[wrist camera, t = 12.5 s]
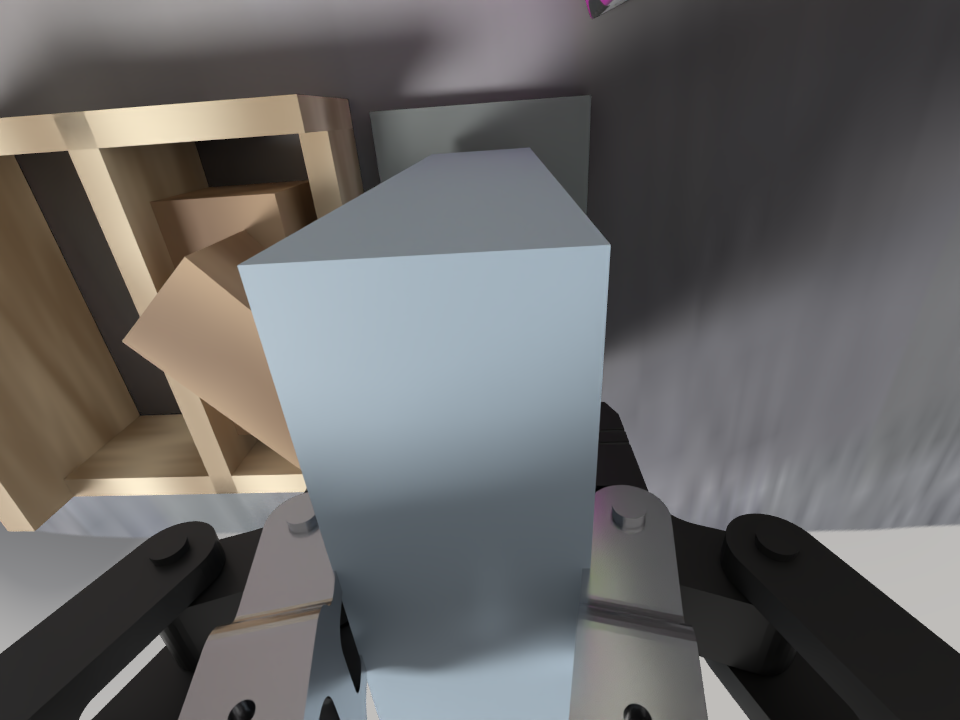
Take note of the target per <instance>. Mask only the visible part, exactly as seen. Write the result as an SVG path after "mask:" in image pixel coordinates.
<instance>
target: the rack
mask: <svg viewBox="0 0 960 720" xmlns="http://www.w3.org/2000/svg"><path fill="white" fill-rule="evenodd" d="M297 133H298V134H299V138H300V143H301V147H302V152H303V156H304V161H305V165H306V170H307V174H308V179H309V183H310V188H311V192H312V197H313V201H314V206H315V210H316V215H317V219H319V218H321V217H323V216H325V215H326V214H328V213H330V212H332V211H333V210H335V209H337V208H339V207H340V206H342V205H344V204H346V203H347V202H349V201H351V200H353V199H354V198H356V197H358V196H360V195H361V194H363V193H364V190H363V184H362V178H361V172H360V167H359V161H358V155H357V149H356V143H355V138H354V132H353V126H352V120H351V114H350V109H349V103H348V99H342V98H331V97H321V96H310V95H300V94H292V95H280V96H268V97H255V98H243V99H230V100H218V101H206V102H193V103H181V104H168V105H156V106H143V107H131V108H119V109H106V110H94V111H81V112H69V113H57V114H44V115H32V116H19V117H7V118H0V521H1V522H2V524H3V525H4V526H5V528H6V529H7V531H35V530H37V529H38V528H39V527H40V526H41V525H42V524H43V523H44V522H46V521H47V520H48V519H49V518H50V517H51V516H52V515H53V514H55V513H56V512H57V511H58V510H59V509H60V508H61V507H62V506H64V505H65V504H66V503H67V502H68V501H69V500H70V499H71V498H73V497H74V496H123V495H174V494H224V493H275V492H305V490H306V488H307V487H306V484H305V481H304V477H303V474H302V471H301V470H300V469H299V468H297V467H296V466H295V465H293V464H292V463H290V462H289V461H288V460H286V459H285V458H283V457H282V456H281V455H279V454H278V453H277V452H275V451H274V450H272V449H271V448H270V447H268V446H267V445H265V444H264V443H263V442H261V441H260V440H258V439H257V438H256V437H254V436H253V435H238V433H237V431H236V428H235V425H234V423H233V421H232V420H230V419H229V418H228V417H226V416H225V415H224V414H222V413H221V412H219V411H218V410H217V409H215V408H214V407H212V406H211V405H210V404H208V403H207V402H205V401H204V400H203V399H201V398H200V397H198V396H197V395H196V394H194V393H193V392H191V391H190V390H189V389H187V388H186V387H184V386H183V385H182V384H180V383H179V382H177V381H176V380H175V379H173V378H172V377H170V376H169V375H168V374H166V373H165V372H164V373H165V376H166V378H167V380H168V383H169V385H170V387H171V390H172V392H173V394H174V396H175V399H176V401H177V403H178V406H179V408H180V410H181V413H182V414H176V415H145V416H140V414H139V412H138V410H137V408H136V406H135V404H134V402H133V400H132V398H131V396H130V394H129V392H128V390H127V387H126V385H125V383H124V381H123V379H122V377H121V375H120V373H119V371H118V369H117V367H116V365H115V363H114V361H113V359H112V357H111V354H110V352H109V350H108V348H107V346H106V344H105V342H104V340H103V338H102V336H101V334H100V332H99V330H98V328H97V326H96V323H95V321H94V319H93V317H92V315H91V313H90V311H89V309H88V307H87V305H86V303H85V301H84V299H83V297H82V295H81V293H80V290H79V288H78V286H77V284H76V282H75V280H74V278H73V276H72V274H71V272H70V270H69V268H68V266H67V264H66V262H65V260H64V257H63V255H62V253H61V251H60V249H59V247H58V245H57V243H56V241H55V239H54V237H53V235H52V233H51V231H50V229H49V227H48V224H47V222H46V220H45V218H44V216H43V214H42V212H41V210H40V208H39V206H38V204H37V202H36V200H35V198H34V196H33V194H32V191H31V189H30V187H29V185H28V183H27V181H26V179H25V177H24V175H23V173H22V171H21V169H20V167H19V165H18V163H17V161H16V158H15V156H14V155H15V154H29V153H42V152H56V151H68V152H69V154H70V157H71V159H72V161H73V164H74V166H75V168H76V171H77V173H78V175H79V178H80V180H81V182H82V184H83V187H84V189H85V191H86V194H87V196H88V198H89V201H90V203H91V205H92V207H93V210H94V212H95V214H96V217H97V219H98V221H99V224H100V226H101V228H102V231H103V233H104V235H105V237H106V240H107V242H108V244H109V247H110V249H111V251H112V254H113V256H114V258H115V260H116V263H117V265H118V267H119V270H120V272H121V274H122V277H123V279H124V281H125V284H126V286H127V288H128V290H129V293H130V295H131V297H132V300H133V302H134V304H135V307H136V309H137V311H138V313H139V316H141V315H142V314H143V312H144V311H145V310H146V308H147V307H148V305H149V304H150V303H151V301H152V300H153V299H154V297H155V296H156V295H157V293H158V292H159V291H160V289H161V288H162V287H163V285H164V284H165V283H166V281H167V280H168V279H169V277H170V276H171V275H172V273H173V272H174V270H175V268H174V265H173V262H172V260H171V257H170V255H169V252H168V249H167V247H166V244H165V241H164V239H163V236H162V233H161V231H160V228H159V225H158V223H157V220H156V218H155V215H154V212H153V210H152V207H151V204H150V202H151V201H155V200H160V199H164V198H168V197H172V196H176V195H180V194H184V193H188V192H192V191H196V190H200V189H204V188H208V187H209V186H208V183H207V180H206V176H205V173H204V170H203V167H202V164H201V161H200V157H199V154H198V151H197V148H196V145H195V142H194V141H203V140H217V139H230V138H244V137H257V136H270V135H284V134H297Z"/></svg>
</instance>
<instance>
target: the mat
mask: <svg viewBox="0 0 960 720" xmlns="http://www.w3.org/2000/svg"><path fill="white" fill-rule="evenodd" d="M369 113H370V120H371V126H372V132H373V139H374V145H375V152H376V158H377V165H378V171H379V177H380V184H381V183H383V182H384V181H386V180H388V179H390V178H391V177H393V176H395V175H397V174H398V173H400V172H402V171H404V170H405V169H407V168H409V167H411V166H412V165H414V164H416V163H418V162H419V161H421V160H423V159H425V158H426V157H428V156H430V155H432V154H443V153H457V152H472V151H486V150H500V149H514V148H529V147H530V148H531V150H532V151H533V152H534V153H535V154H536V156H537V157H538V158H539V159H540V160H541V162H542V163H543V164H544V165H545V166H546V168H547V169H548V170H549V171H550V172H551V174H552V175H553V176H554V177H555V178H556V180H557V181H558V182H559V183H560V184H561V186H562V187H563V188H564V189H565V190H566V192H567V193H568V194H569V195H570V196H571V198H572V199H573V200H574V201H575V202H576V204H577V205H578V206H579V207H580V208H581V210H582V211H583V212H584V213H585V214H586V216H587V195H588V168H589V142H590V116H591V95H582V96H569V97H556V98H543V99H530V100H517V101H504V102H491V103H478V104H465V105H452V106H439V107H426V108H413V109H400V110H387V111H374V112H369Z"/></svg>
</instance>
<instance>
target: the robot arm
mask: <svg viewBox="0 0 960 720" xmlns="http://www.w3.org/2000/svg"><path fill="white" fill-rule="evenodd" d="M342 593H343V592H342V589H341V585H340V582H339V579H338V576H337V572H336V571H333V570H332V567H331V564H330V561H329V557H328V554H327V551H326V548H325V545H324V541H323V538H322V535H321V532H320V529H319V525H318V522H317V519H316V516H315V513H314V509H313V506H312V503H311V500H310V497H309V493H308V490H307V488H306V490H305V492H304V493H303V494H300V495H297V496H295V497H292V498H290V499H288V500H287V501H285V502H283V503H282V504H281V505H279V506H278V507H277V508H276V509H275V510H274V511H273V512H272V513H271V514H270V515H269V517H268V518H267V520H266V522H265V524H264V527H263V528H260V529H257V530H254V531H250V532H246V533H242V534H239V535H235V536H231V537H228V538H224V539H220V540H219V539H218V537H217V534H216V532H215V530H214V528H213V527H212V526H211V525H209V524H207V523H204V522H198V521H193V522H185V523H181V524H177V525H174V526H171V527H169V528H166V529H164V530H162V531H160V532H159V533H157V534H155V535H153V536H152V537H150V538H149V539H148V540H146V541H145V542H144V543H142V544H141V545H140V546H138V547H137V548H136V549H135V550H133V551H132V552H131V553H129V554H128V555H127V556H126V557H124V558H123V559H122V560H121V561H119V562H118V563H117V564H115V565H114V566H113V567H112V568H110V569H109V570H108V571H106V572H105V573H104V574H102V575H101V576H100V577H99V578H97V579H96V580H95V581H93V582H92V583H91V584H90V585H88V586H87V587H86V588H84V589H83V590H82V591H81V592H79V593H78V594H77V595H75V596H74V597H73V598H72V599H70V600H69V601H68V602H66V603H65V604H64V605H63V606H61V607H60V608H59V609H57V610H56V611H55V612H54V613H52V614H51V615H50V616H48V617H47V618H46V619H45V620H43V621H42V622H41V623H39V624H38V625H37V626H35V627H34V628H33V629H32V630H31V631H29V632H28V633H27V634H25V635H24V636H23V637H21V638H20V639H19V640H18V641H16V642H15V643H14V644H12V645H11V646H10V647H9V648H7V649H6V650H5V651H3V652H2V653H1V654H0V720H79V718H80V716H81V714H82V712H83V710H84V709H85V707H86V706H87V704H88V703H89V702H90V701H91V700H92V699H93V698H94V697H95V696H96V695H97V693H99V692H100V691H101V690H102V689H103V688H104V687H105V686H106V685H107V684H108V683H109V682H110V681H111V680H112V679H113V678H114V677H115V676H116V675H117V674H118V673H119V672H120V671H121V670H122V669H124V668H125V667H126V666H127V665H128V664H129V662H131V661H132V660H133V659H134V658H135V657H136V656H137V655H138V654H139V653H140V652H141V651H142V650H143V649H144V648H145V647H146V646H147V645H148V644H150V643H151V641H153V640H154V639H155V638H156V637H157V636H158V635H160V636H161V638H162V639H163V641H164V643H165V644H166V646H165V647H164V648H163V649H162V650H161V651H160V652H159V653H158V654H157V655H156V656H155V657H154V658H153V659H152V660H151V661H150V662H149V663H148V664H147V665H146V666H145V667H144V668H143V669H142V670H141V671H140V672H139V673H138V674H137V675H136V676H135V677H134V678H133V679H132V680H131V681H130V682H129V683H128V684H127V685H126V686H125V687H124V688H123V689H122V690H121V691H120V692H119V693H118V694H117V695H116V696H115V697H114V698H113V699H112V700H111V701H110V702H109V703H108V704H107V705H106V706H105V707H104V708H103V709H102V710H101V711H100V712H99V713H98V714H97V715H96V716H95V717H94V718H93V719H92V720H367V715H366V686H367V670H366V666H365V663H364V660H363V657H362V655H359V653H358V650H357V647H356V644H355V640H354V637H353V634H352V631H351V628H350V624H349V621H348V618H347V615H346V612H345V608H344V605H343V602H342ZM699 656H701V657H704V658H705V660H706V662H707V663H708V665H709V666H710V668H711V669H712V670H713V672H714V673H715V675H716V676H717V677H718V678H719V679H720V681H721V682H722V684H723V685H724V686H725V688H726V689H727V690H728V692H729V693H730V694H731V696H732V697H733V698H734V700H735V701H736V702H737V703H738V705H739V706H740V707H741V709H742V710H743V711H744V713H745V714H746V715H747V717H748V718H749V719H750V720H960V653H958V652H957V651H956V650H954V649H953V648H952V647H951V646H949V645H948V644H947V643H946V642H944V641H943V640H942V639H941V638H939V637H938V636H937V635H936V634H934V633H933V632H932V631H930V630H929V629H928V628H927V627H926V626H924V625H923V624H922V623H920V622H919V621H918V620H917V619H916V618H914V617H913V616H912V615H911V614H909V613H908V612H907V611H906V610H904V609H903V608H902V607H900V606H899V605H898V604H897V603H896V602H894V601H893V600H892V599H890V598H889V597H888V596H887V595H885V594H884V593H883V592H882V591H880V590H879V589H878V588H876V587H875V586H874V585H873V584H871V583H870V582H869V581H868V580H867V579H865V578H864V577H863V576H861V575H860V574H859V573H858V572H857V571H855V570H854V569H853V568H852V567H850V566H849V565H848V564H847V563H845V562H844V561H843V560H842V559H840V558H839V557H838V556H836V555H835V554H834V553H833V552H831V551H830V550H829V549H828V548H826V547H825V546H824V545H823V544H821V543H820V542H819V541H818V540H816V539H815V538H814V537H813V536H811V535H810V534H809V533H807V532H806V531H805V530H803V529H802V528H800V527H798V526H797V525H795V524H793V523H791V522H789V521H787V520H784V519H781V518H778V517H775V516H771V515H765V514H745V515H742V516H739V517H737V518H735V519H733V520H732V521H731V522H730V523H729V525H728V526H727V529H726V531H723V530H718V529H714V528H710V527H705V526H701V525H697V524H693V523H689V522H686V521H684V520H681V519H679V518H677V517H675V516H673V515H671V514H670V512H669V510H668V508H667V507H666V506H665V504H664V503H663V502H662V501H661V500H660V499H659V498H658V497H656V496H655V495H653V494H652V493H650V492H648V489H647V487H646V484H645V482H644V479H643V476H642V474H641V471H640V469H639V466H638V463H637V461H636V458H635V456H634V453H633V451H632V448H631V445H630V444H629V440H628V438H627V435H626V432H624V427H623V425H622V422H621V420H620V417H619V414H618V413H616V412H615V411H614V410H613V409H612V408H611V407H610V406H609V405H607V404H606V403H605V402H601V408H600V424H599V440H598V456H597V472H596V488H595V503H594V519H593V535H592V551H591V567H590V568H582V579H581V591H580V603H579V606H578V616H577V628H576V640H575V652H574V663H573V675H572V687H571V699H570V711H569V720H708V716H707V710H706V703H705V696H704V688H703V681H702V674H701V667H700V660H699Z"/></svg>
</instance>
